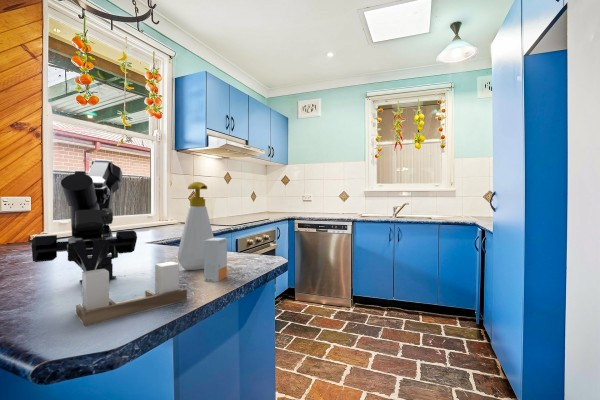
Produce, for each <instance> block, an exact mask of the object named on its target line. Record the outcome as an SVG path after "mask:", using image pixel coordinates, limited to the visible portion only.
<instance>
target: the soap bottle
mask: <svg viewBox="0 0 600 400" xmlns="http://www.w3.org/2000/svg"><path fill="white" fill-rule="evenodd" d="M187 190H195V191H194V195H195V197H194V196H192V197H191V198H190V199H189V207H188V210H187V214H186V218H185V223H184V226H183V231H182V235H181V238H180V242H179V246H178V250H177V260H178V261H177V262H178V264H179V266H180V267H182V269H183V270H185V271H196V270H204V241H205V240H208V239H211V238H215V237H214V236H215V235H214V233H213V228H212V225H211V222H210V217H209V212H208V209H207V206H206V199H204V196H201V190H208V186H207V185H206V184H205V183H203V182H201V181H195V182H192V183H190V184H189V185H188V187H187Z"/></svg>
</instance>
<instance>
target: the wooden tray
mask: <svg viewBox="0 0 600 400" xmlns="http://www.w3.org/2000/svg"><path fill="white" fill-rule="evenodd" d="M144 291H145V293H144V294H145V295H144V296H140V297H136V298H131V299H126V300H122V301H117V302H115V301H114V300H112V299H111V298H110V297H109V306H105V307H100V308H96V309H91V310H87V311H85V310H84V309H83V306H82V305H81V304H76V305H75V311H74V313H75V315H76V316H77V318H78V319H79V320H80V322H81V323H82V325H83V326H84V327H87V326H88V327H89V326H92V325H95V324H99V323H103V322H107V321H111V320H115V319H119V318H123V317H126V316H131V315H135V314H138V313H142V312H147V311H150V310H153V309H154V310H155V309H158V308H161V307H162V308H163V307H164V306H165V307H166V306H169V305H173V304H177V303H178V304H179V303H181V302H184V301H187V300H188V289H187V288H182V289H180V288H179V290H175V291H171V292H167V293H162V294H158V295H156V294H155V292H153V291H151V290H149V289H146V290H144Z"/></svg>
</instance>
